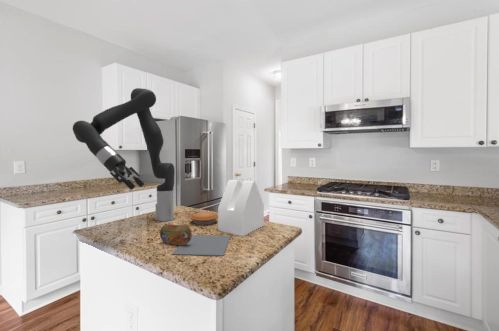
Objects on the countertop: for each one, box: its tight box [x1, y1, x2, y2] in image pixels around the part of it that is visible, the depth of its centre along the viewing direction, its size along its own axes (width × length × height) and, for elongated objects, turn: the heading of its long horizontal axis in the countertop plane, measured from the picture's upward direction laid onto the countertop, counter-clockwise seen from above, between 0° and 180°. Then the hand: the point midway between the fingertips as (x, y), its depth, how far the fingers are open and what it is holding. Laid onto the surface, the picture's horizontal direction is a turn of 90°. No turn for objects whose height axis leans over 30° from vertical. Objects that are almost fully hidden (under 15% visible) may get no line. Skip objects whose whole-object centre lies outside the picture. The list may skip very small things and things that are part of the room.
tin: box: [159, 223, 193, 246], centre depth 104 cm, size 15×3×8 cm, turn 68°
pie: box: [189, 211, 218, 226], centre depth 138 cm, size 16×16×5 cm
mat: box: [171, 234, 232, 257], centre depth 104 cm, size 20×22×1 cm
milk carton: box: [217, 179, 265, 237], centre depth 126 cm, size 19×15×25 cm
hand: (138, 186), depth 104 cm, fingers open, 7 cm apart
